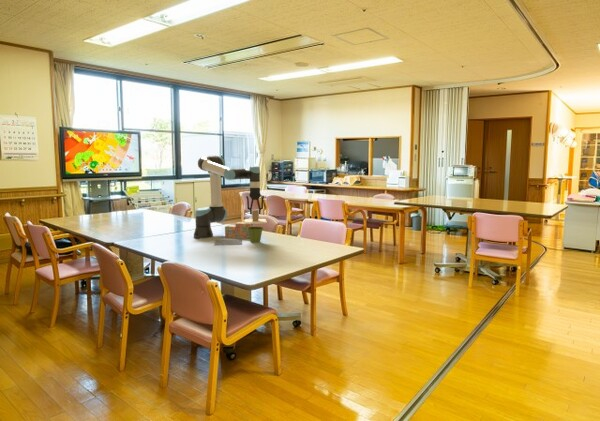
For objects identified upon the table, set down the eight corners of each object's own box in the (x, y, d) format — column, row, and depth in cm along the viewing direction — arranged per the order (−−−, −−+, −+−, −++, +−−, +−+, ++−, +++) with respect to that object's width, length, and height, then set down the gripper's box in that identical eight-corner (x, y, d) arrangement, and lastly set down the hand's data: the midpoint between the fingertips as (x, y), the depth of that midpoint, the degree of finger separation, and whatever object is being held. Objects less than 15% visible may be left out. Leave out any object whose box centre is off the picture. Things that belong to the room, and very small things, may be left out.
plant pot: (248, 244, 301) (248, 229, 300) (247, 241, 313) (246, 226, 311) (264, 243, 303) (264, 228, 302) (262, 240, 315) (262, 226, 314)
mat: (215, 240, 314) (215, 239, 314) (242, 240, 317) (242, 239, 317) (214, 246, 294) (213, 245, 294) (242, 245, 297) (242, 244, 297)
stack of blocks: (224, 238, 326) (224, 222, 324) (227, 236, 332) (227, 221, 330) (250, 239, 321) (250, 223, 319) (253, 237, 327) (252, 222, 325)
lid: (244, 220, 313) (244, 208, 312) (265, 220, 315) (265, 208, 314) (244, 223, 297) (244, 211, 296) (266, 223, 299) (266, 211, 298)
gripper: (243, 187, 298) (243, 219, 301) (266, 187, 300) (267, 219, 303) (243, 187, 305) (243, 218, 308) (266, 186, 308) (266, 217, 311)
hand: (255, 218), depth 306 cm, fingers closed on lid, 4 cm apart
